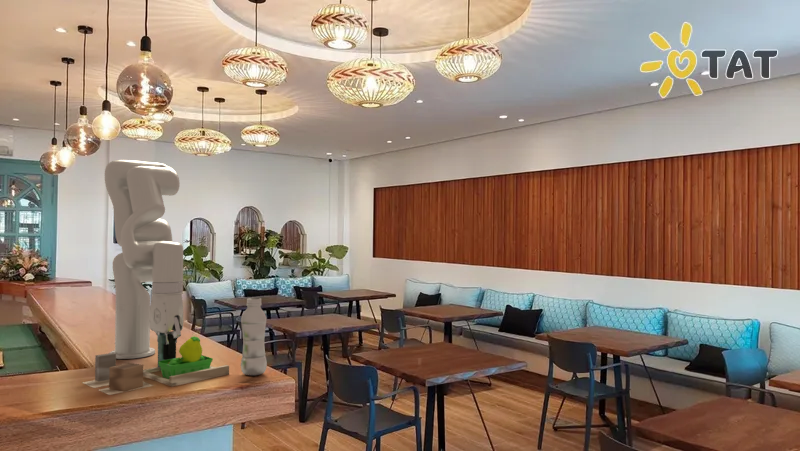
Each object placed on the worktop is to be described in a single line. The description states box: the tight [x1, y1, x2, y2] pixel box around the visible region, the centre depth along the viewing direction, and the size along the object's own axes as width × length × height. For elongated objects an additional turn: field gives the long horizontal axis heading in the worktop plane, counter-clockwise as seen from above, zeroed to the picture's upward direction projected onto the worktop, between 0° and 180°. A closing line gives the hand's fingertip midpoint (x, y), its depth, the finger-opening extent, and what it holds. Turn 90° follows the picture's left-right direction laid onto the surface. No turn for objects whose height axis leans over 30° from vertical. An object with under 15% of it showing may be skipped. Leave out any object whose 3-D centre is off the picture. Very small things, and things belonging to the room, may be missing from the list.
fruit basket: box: [157, 336, 213, 379], centre depth 139 cm, size 11×9×11 cm
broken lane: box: [82, 352, 154, 396], centre depth 130 cm, size 16×10×7 cm, turn 50°
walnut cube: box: [108, 362, 144, 393], centre depth 127 cm, size 5×5×5 cm
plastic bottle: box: [240, 297, 268, 377], centre depth 144 cm, size 6×7×20 cm
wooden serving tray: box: [143, 334, 230, 387], centre depth 140 cm, size 18×15×10 cm
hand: (166, 357), depth 145 cm, fingers closed on wooden serving tray, 2 cm apart
